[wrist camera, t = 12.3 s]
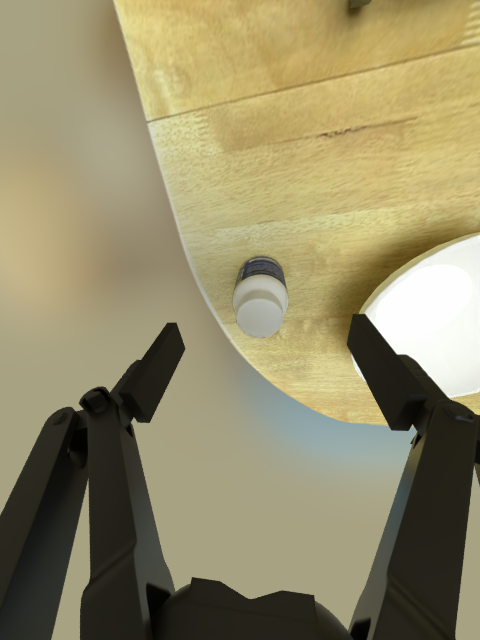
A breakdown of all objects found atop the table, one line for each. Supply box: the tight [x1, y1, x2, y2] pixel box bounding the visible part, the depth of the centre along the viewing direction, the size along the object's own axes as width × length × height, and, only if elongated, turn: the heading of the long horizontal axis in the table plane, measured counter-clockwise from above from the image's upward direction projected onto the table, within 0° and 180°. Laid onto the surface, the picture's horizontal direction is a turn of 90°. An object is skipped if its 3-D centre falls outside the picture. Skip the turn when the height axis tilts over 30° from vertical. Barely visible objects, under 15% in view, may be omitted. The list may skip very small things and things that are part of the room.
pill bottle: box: [232, 255, 289, 338], centre depth 21 cm, size 5×5×10 cm
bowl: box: [351, 232, 480, 398], centre depth 22 cm, size 20×20×7 cm
